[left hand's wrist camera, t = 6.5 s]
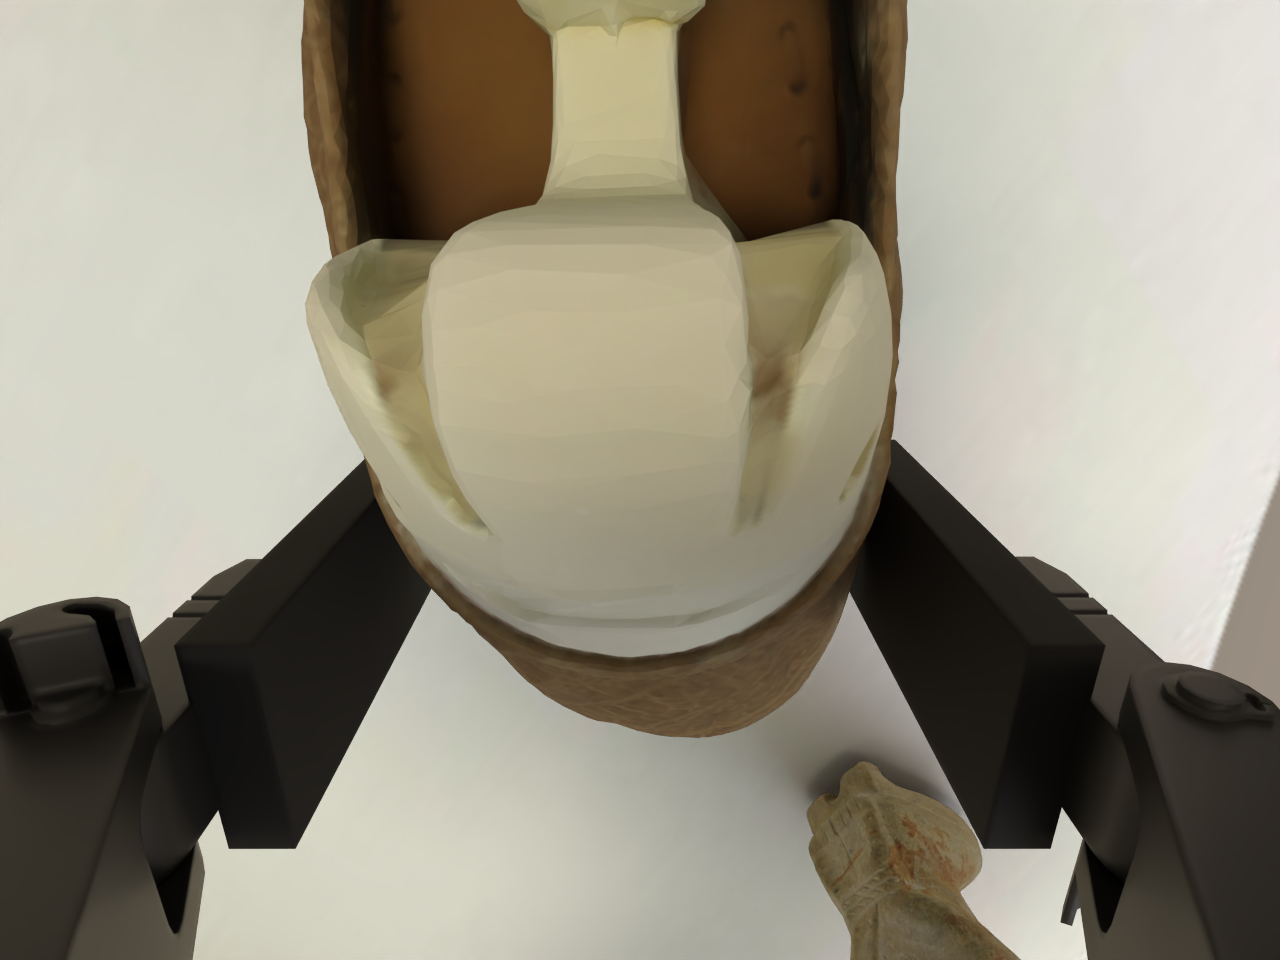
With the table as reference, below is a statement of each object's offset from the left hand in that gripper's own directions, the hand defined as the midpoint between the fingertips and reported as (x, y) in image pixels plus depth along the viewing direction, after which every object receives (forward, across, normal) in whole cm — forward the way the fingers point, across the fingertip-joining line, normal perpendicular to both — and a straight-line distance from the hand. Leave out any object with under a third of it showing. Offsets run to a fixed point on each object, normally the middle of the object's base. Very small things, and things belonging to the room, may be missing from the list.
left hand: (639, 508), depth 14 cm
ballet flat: (+1, 0, -8) cm, 8 cm away
